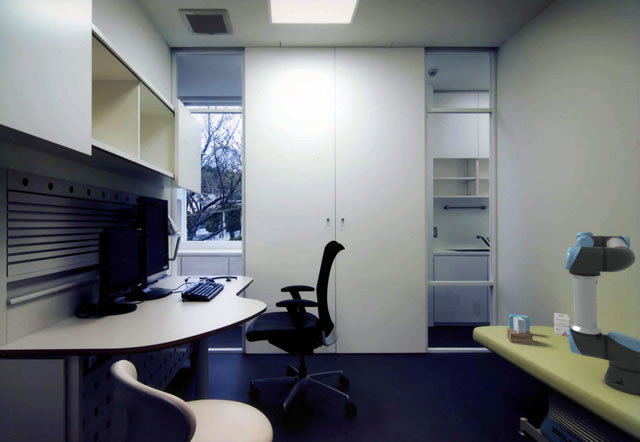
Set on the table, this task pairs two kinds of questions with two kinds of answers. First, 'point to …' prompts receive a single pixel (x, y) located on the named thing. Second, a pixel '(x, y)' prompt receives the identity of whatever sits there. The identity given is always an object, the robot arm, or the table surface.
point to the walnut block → (519, 337)
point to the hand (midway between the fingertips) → (586, 293)
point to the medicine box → (519, 325)
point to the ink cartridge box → (561, 324)
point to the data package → (526, 318)
